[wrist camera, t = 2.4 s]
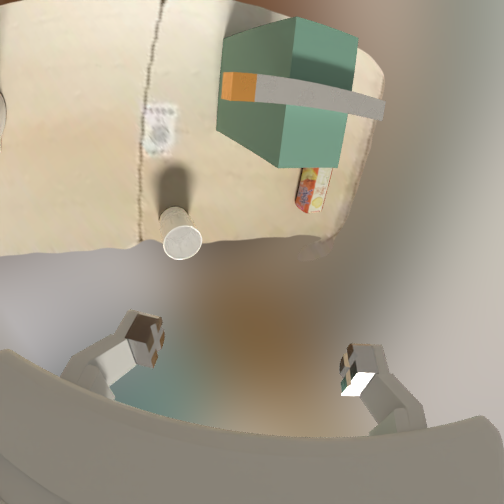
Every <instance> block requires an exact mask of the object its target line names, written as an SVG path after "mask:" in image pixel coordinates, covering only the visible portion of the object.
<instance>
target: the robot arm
mask: <svg viewBox="0 0 504 504" xmlns="http://www.w3.org/2000/svg"><path fill="white" fill-rule="evenodd" d="M5 121H6V107H5V102H4V99H3V97H2V95H1V94H0V153H1V137H2V133H3V130H4V126H5ZM162 323H163V322H162V318H161V317H159V316H155V315H151V314H146V313H143V312H139V311H135V310H131V309H130V310H129V311H127V313H126V315H125V316H124V318H123V320H122V321H121V323H120V325H119V326H118V328H117V330H116V332H115V333H114V335H111V334H110V335H109V336H107V337H105V338H104V339H102V340H100V341H98V342H96V343H95V344H93V345H91V346H89V347H87V348H86V349H84V350H82V351H80V352H79V353H77V354H75V355H73V356H72V357H71V359H70V360H69V362H68V364H67V365H66V367H65V369H64V370H63V372H62V374H61V376H60V377H58V376H57V375H54V374H53V373H51V372H49V371H47V370H45V369H43V368H41V367H39V366H37V365H35V364H34V363H32V362H30V361H29V360H27V359H25V358H23V357H22V356H20V355H18V354H17V353H15V352H14V351H12V350H10V349H4V350H1V351H0V504H504V448H503V443H502V439H501V436H500V433H499V431H498V430H497V428H496V427H495V426H494V425H493V424H492V423H491V422H490V421H489V420H488V419H487V418H485V417H484V416H475V417H472V418H469V419H465V420H462V421H458V422H454V423H449V424H445V425H441V426H436V427H431V428H427V424H426V419H425V414H424V410H423V406H422V405H421V403H419V401H418V400H417V399H416V398H415V397H414V396H413V395H412V394H411V393H410V392H409V391H408V390H407V389H406V388H405V387H404V385H403V384H402V383H401V382H400V381H399V380H398V379H397V378H396V377H395V376H394V375H393V374H390V373H389V369H388V365H387V362H386V357H385V354H384V350H383V347H382V345H375V344H355V343H351V344H349V345H348V347H347V353H345V354H343V356H342V358H341V361H340V366H339V367H340V368H339V371H340V375H341V376H342V377H343V380H342V381H341V390H342V395H359V397H360V398H361V400H362V401H363V403H364V404H365V406H366V407H367V409H368V410H369V412H370V413H371V414H372V416H373V417H374V419H375V420H376V422H377V423H378V425H377V426H376V427H375V428H374V429H373V430H371V431H370V432H369V436H361V437H336V438H313V437H312V438H311V437H288V436H287V437H286V436H274V435H263V434H254V433H246V432H239V431H232V430H225V429H220V428H214V427H209V426H204V425H199V424H194V423H190V422H185V421H181V420H177V419H173V418H169V417H165V416H161V415H158V414H155V413H151V412H147V411H144V410H141V409H138V408H135V407H131V406H129V405H126V404H123V403H120V402H117V401H115V400H114V399H115V396H114V394H113V393H112V391H111V389H110V388H109V386H110V385H112V384H113V383H114V382H115V381H117V380H118V379H119V378H120V377H122V376H123V375H124V374H126V373H127V372H128V371H129V370H131V369H132V368H133V367H135V366H136V364H138V365H142V366H146V367H150V368H154V366H155V364H156V361H157V359H158V354H157V352H158V351H159V350H161V349H162V346H163V343H164V338H165V332H164V329H163V328H162V327H161V325H162Z"/></svg>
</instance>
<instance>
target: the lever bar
mask: <svg viewBox="0 0 504 504" xmlns="http://www.w3.org/2000/svg"><path fill="white" fill-rule="evenodd" d="M221 99H225V100H229V101H248V102H264V103H276V104H287V105H296V106H304V107H311V108H318V109H325V110H331V111H336V112H342V113H347V114H352V115H357V116H362V117H367V118H371V119H375V120H380V121H382V119H383V114H384V108H385V103H386V102H385V101H382V100H379V99H376V98H373V97H370V96H366V95H363V94H359V93H356V92H352V91H348V90H344V89H340V88H336V87H332V86H327V85H323V84H318V83H313V82H308V81H302V80H297V79H291V78H284V77H277V76H270V75H262V74H252V73H241V72H223V81H222V94H221Z"/></svg>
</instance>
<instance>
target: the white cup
mask: <svg viewBox="0 0 504 504" xmlns="http://www.w3.org/2000/svg"><path fill="white" fill-rule="evenodd" d="M159 223H160V232H161V238H162V243H163V247H164V251H165V253H166V254H167V255H168V256H169V257H171V258H173V259H178V260H182V259H187V258H189V257H191V256H193V255H194V254H195V253H197V251H198V250H199V249H200V247H201V244H202V236H201V234H200V232H199V230H198V229H197V227H196V225H195V224H194V222H193V221H192V219H191V218H190V216H189V215H188V214H187V212H186V211H185V210H184V209H183V208H180V207H170V208H168V209H166V210H165V211H164V212H163V213H162V214H161V216H160V220H159Z"/></svg>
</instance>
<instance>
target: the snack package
mask: <svg viewBox="0 0 504 504" xmlns="http://www.w3.org/2000/svg"><path fill="white" fill-rule="evenodd" d="M332 170H333V168H303V171H302V176H301V181H300V185H299V190H298V194H297V198H296V202H295V204H296V206H297V207H298V208H299V209H301V210H302V211H303V212H305V213H317V212H320V211H322V209H323V204H324V201H325V196H326V193H327V189H328V186H329V182H330V178H331V174H332Z"/></svg>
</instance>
